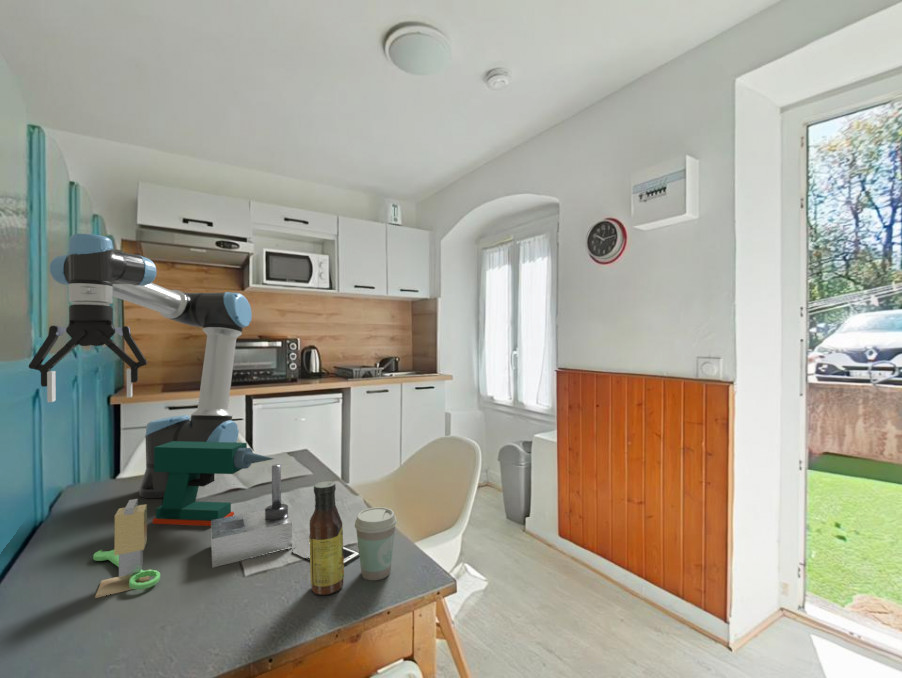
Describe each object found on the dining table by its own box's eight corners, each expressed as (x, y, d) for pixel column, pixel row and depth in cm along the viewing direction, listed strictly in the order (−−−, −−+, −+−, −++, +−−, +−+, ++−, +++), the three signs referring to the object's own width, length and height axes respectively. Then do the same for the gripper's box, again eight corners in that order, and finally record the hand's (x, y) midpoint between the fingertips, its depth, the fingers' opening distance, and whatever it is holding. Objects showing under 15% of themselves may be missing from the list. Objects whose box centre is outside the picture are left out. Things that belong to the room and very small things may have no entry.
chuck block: (211, 546, 100) (210, 468, 100) (284, 530, 108) (283, 458, 108) (212, 567, 90) (211, 482, 90) (292, 548, 98) (291, 470, 98)
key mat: (101, 582, 85) (101, 580, 85) (150, 571, 89) (150, 569, 89) (95, 598, 80) (95, 596, 80) (147, 585, 84) (147, 583, 84)
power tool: (282, 516, 116) (281, 442, 116) (268, 528, 109) (268, 449, 109) (172, 512, 119) (172, 440, 119) (152, 523, 112) (152, 447, 112)
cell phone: (318, 540, 103) (318, 536, 103) (362, 557, 95) (362, 553, 95) (290, 554, 96) (290, 549, 96) (334, 573, 88) (334, 568, 88)
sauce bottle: (350, 586, 83) (349, 484, 83) (321, 601, 78) (320, 492, 78) (332, 574, 87) (331, 476, 87) (303, 587, 83) (302, 484, 83)
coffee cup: (377, 589, 82) (377, 526, 82) (345, 576, 86) (345, 517, 86) (405, 569, 89) (405, 511, 89) (374, 558, 94) (374, 503, 94)
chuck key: (119, 567, 87) (119, 501, 87) (147, 561, 89) (147, 497, 89) (113, 581, 81) (114, 510, 82) (143, 574, 84) (143, 506, 84)
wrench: (119, 551, 98) (89, 560, 94) (119, 542, 99) (89, 551, 94) (165, 581, 84) (133, 594, 80) (165, 571, 84) (133, 583, 80)
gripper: (7, 301, 87) (8, 406, 87) (157, 305, 99) (157, 396, 99) (21, 303, 93) (21, 401, 93) (159, 307, 106) (160, 393, 106)
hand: (91, 399), depth 96 cm, fingers open, 13 cm apart
